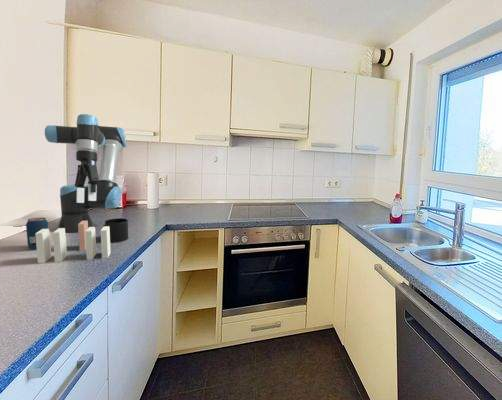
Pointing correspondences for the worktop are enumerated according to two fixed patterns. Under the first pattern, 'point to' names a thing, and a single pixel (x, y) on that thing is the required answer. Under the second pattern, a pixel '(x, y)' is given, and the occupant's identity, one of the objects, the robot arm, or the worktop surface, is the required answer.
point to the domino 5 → (105, 241)
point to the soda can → (34, 230)
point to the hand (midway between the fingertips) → (86, 201)
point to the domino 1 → (43, 245)
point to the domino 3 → (82, 234)
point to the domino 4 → (90, 242)
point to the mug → (117, 229)
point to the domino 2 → (59, 244)
